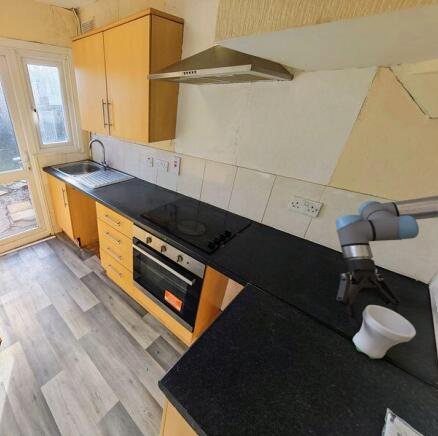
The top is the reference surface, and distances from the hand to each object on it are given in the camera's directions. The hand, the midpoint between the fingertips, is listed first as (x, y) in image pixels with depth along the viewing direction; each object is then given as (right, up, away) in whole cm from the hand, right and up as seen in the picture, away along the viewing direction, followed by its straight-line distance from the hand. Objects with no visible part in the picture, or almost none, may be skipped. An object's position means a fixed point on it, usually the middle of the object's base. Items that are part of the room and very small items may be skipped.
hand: (375, 327), depth 71 cm
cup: (0, -9, +3) cm, 9 cm away
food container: (+21, +4, +29) cm, 36 cm away
